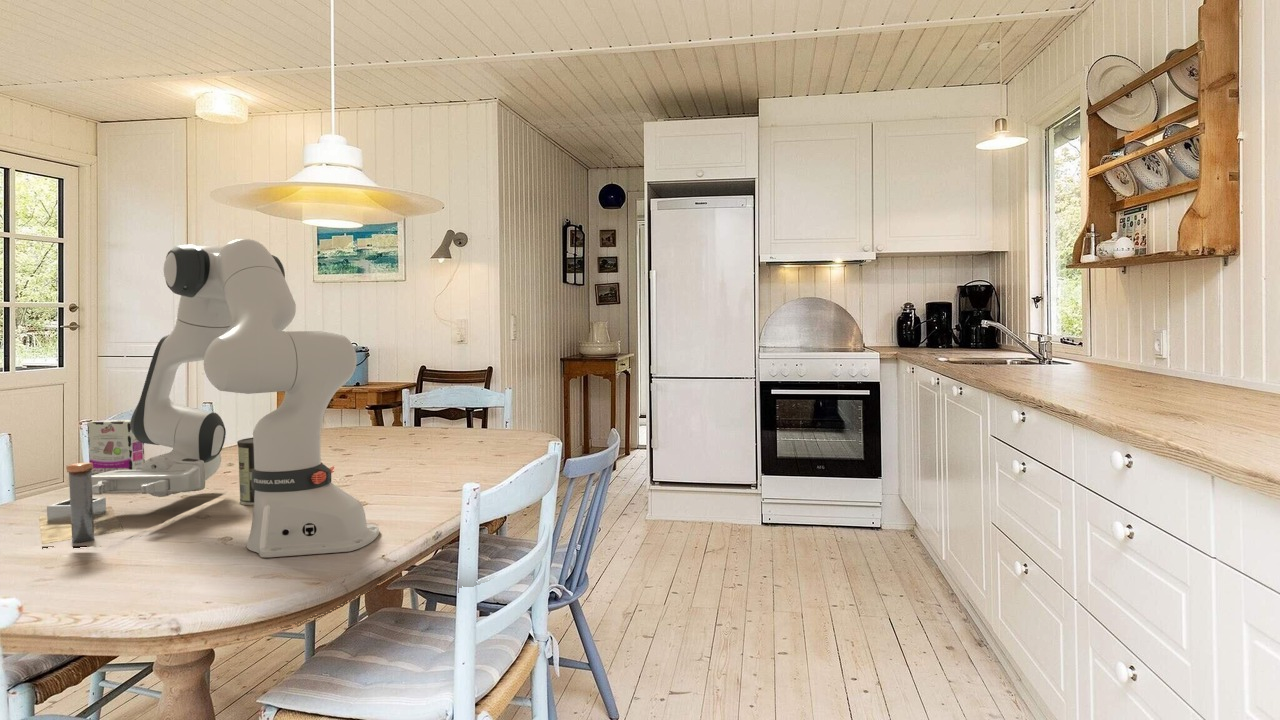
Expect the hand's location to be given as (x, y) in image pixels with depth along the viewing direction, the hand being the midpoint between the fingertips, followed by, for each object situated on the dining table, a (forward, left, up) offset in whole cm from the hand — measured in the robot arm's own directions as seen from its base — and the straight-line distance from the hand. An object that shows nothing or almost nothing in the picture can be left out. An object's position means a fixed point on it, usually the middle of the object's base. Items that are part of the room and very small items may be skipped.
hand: (119, 490), depth 139 cm
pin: (0, +10, -8) cm, 13 cm away
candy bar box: (+28, -41, -8) cm, 50 cm away
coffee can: (-17, -23, -8) cm, 29 cm away
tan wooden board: (+9, -2, -8) cm, 12 cm away
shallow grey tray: (+13, -7, -7) cm, 17 cm away
